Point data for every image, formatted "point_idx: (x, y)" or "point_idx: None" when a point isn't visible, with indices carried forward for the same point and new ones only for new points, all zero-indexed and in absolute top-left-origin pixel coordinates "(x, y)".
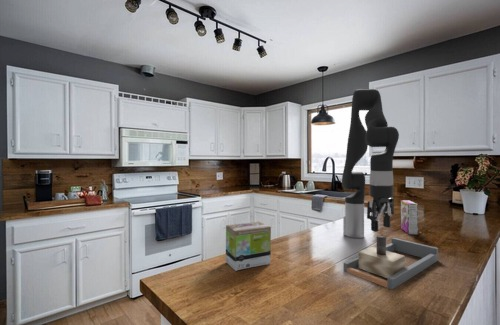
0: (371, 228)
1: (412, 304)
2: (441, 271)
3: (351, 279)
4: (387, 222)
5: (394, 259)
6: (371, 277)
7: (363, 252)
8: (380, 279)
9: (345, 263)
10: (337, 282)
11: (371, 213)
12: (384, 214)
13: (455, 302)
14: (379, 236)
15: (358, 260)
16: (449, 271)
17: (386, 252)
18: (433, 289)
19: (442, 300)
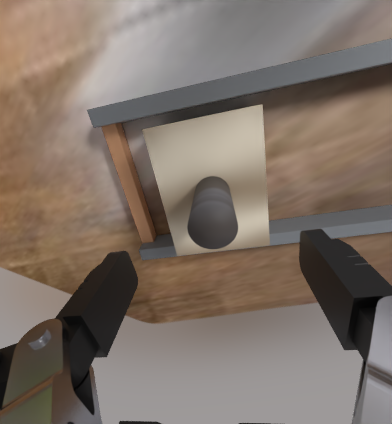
0: (93, 272)
1: (138, 287)
2: (361, 249)
3: (91, 168)
4: (317, 284)
5: (202, 247)
6: (129, 206)
7: (155, 148)
8: (141, 225)
9: (91, 119)
10: (43, 163)
11: (5, 405)
12: (377, 334)
13: (213, 313)
14: (210, 219)
15: (169, 110)
16: (378, 258)
17: (245, 194)
18: (230, 280)
19: (200, 302)
